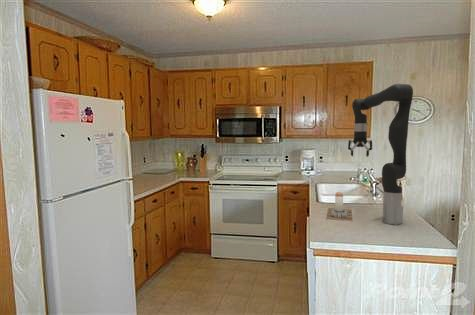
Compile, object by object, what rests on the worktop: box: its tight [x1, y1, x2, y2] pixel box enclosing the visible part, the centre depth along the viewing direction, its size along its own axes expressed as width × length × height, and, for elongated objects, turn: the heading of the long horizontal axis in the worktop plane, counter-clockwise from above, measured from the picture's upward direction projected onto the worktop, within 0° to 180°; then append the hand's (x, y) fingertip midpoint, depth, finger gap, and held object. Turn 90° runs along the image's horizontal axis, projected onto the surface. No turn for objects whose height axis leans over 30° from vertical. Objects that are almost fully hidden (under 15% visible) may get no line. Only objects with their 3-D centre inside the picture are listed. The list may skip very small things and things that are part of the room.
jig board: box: [325, 207, 353, 222], centre depth 191 cm, size 26×14×1 cm, turn 162°
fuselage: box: [334, 191, 344, 212], centre depth 186 cm, size 4×4×14 cm
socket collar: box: [332, 208, 347, 218], centre depth 187 cm, size 8×8×3 cm
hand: (359, 156), depth 204 cm, fingers open, 8 cm apart
